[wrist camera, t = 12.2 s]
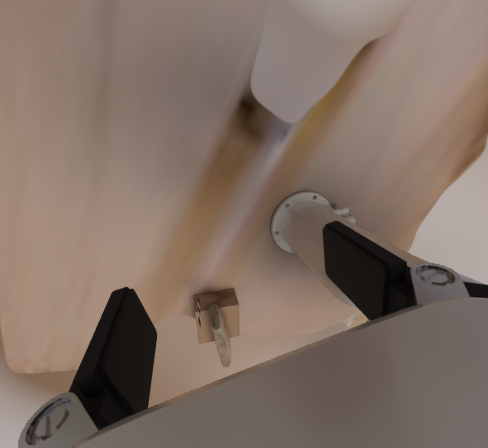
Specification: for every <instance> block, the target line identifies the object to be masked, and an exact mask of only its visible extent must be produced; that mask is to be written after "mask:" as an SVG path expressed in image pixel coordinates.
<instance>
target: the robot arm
mask: <svg viewBox="0 0 488 448" xmlns="http://www.w3.org/2000/svg"><path fill="white" fill-rule="evenodd" d="M348 213H349V209H348V207H346V206H345V207H342V208H339V209H337V210H336V209H334V208H332V207H331V206H330V203H329V202H328V201H327V199H325V198H324V197H323V196H321V195H319V194H317V193H314V192H310V191H304V192H298V193H295V194H293V195H291V196H289V197H288V198H286V199H285V200H284V201H283V202H282V203H281V204H280V205H279V206H278V208H277V209H276V211H275V213H274V215H273V218H272V221H271V234H272V237H273V239H274V241H275V242H276V244H277V245H278V246H279V247H280V248H281V249H283V250H285V251H287V252H290V253H296V254H297V255H298V256H299V257H300V259H301V260H302V261H303V262H304V263H305V264H306V265H307V266H308V267H309V269H310V270H311V271H312V272H313V273H314V274H315V275H316V276H317V277H318V279H319V280H320V281H321V282H322V283H323V284H324V285H325V286H326V288H327V289H328V290H329V291H330V292H331V293H332V294H333V295H334V296H335V297H336V298H337V299H339V300H340V301H342V302H344V303H346V304H348V305H351V306H354V307H357V308H358V309H359V310H360V311H361V312H362V313H363V314H364V315H365V316H366V317H367V318H368V320H367V321H366V323H364V324H361V325H359V326H356V327H353V328H351V329H348V330H346V331H343V332H341V333H338V334H335V335H333V336H330V337H327V338H325V339H322V340H320V341H317V342H314V343H312V344H309V345H307V346H304V347H301V348H299V349H297V350H294V351H291V352H289V353H286V354H283V355H281V356H278V357H276V358H273V359H271V360H268V361H266V362H263V363H260V364H258V365H255V366H253V367H250V368H248V369H245V370H242V371H240V372H237V373H235V374H232V375H230V376H227V377H225V378H222V379H220V380H217V381H215V382H212V383H210V384H207V385H205V386H202V387H200V388H197V389H195V390H192V391H190V392H187V393H184V394H182V395H180V396H177V397H174V398H172V399H170V400H167V401H165V402H162V403H160V404H158V405H155V406H153V407H150V408H148V403H149V396H150V388H151V379H152V372H153V365H154V357H155V349H156V341H157V333H156V329H155V327H154V325H153V323H152V322H151V320H150V318H149V316H148V314H147V312H146V311H145V309H144V307H143V305H142V303H141V301H140V300H139V298H138V296H137V294H136V292H135V291H134V289H129V288H128V287H125V288H121V289H118V290H115V291H113V292H112V293H111V296H110V298H109V300H108V303H107V305H106V307H105V309H104V312H103V314H102V316H101V319H100V321H99V323H98V325H97V328H96V330H95V332H94V334H93V337H92V339H91V341H90V344H89V346H88V348H87V350H86V353H85V355H84V357H83V359H82V362H81V364H80V366H79V369H78V371H77V373H76V375H75V378H74V380H73V383H72V385H71V387H70V390H69V392H66V393H62V394H59V395H58V396H56V397H54V398H52V399H50V400H49V401H48V402H47V403H45V404H44V405H43V406H42V407H41V408H40V409H39V410H37V411H36V412H35V413H34V415H33V416H32V417H31V418H30V420H29V421H28V422H27V424H26V425H25V427H24V429H23V431H22V432H21V435H20V438H19V441H18V444H19V445H18V446H19V447H18V448H488V285H485V284H483V283H481V282H478V281H476V280H474V279H471V278H468V277H466V276H464V275H461V274H458V273H456V272H455V271H454V270H452V269H450V268H448V267H445V266H443V265H439V264H434V263H430V262H427V261H425V260H423V259H420V258H418V257H416V256H413V255H411V254H409V253H407V252H406V251H404V250H402V249H400V248H398V247H396V246H394V245H392V244H390V243H388V242H386V241H384V240H383V239H381V238H379V237H377V236H375V235H374V234H372V233H370V232H368V231H366V230H365V229H363V228H361V227H359V226H357V225H356V224H355V223H356V220H355V218H354V217H353V216H352V215H350V216H347V217H344V218H343V217H341V216H340V215H344V214H348Z"/></svg>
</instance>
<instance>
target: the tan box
mask: <svg viewBox="0 0 488 448" xmlns="http://www.w3.org/2000/svg"><path fill="white" fill-rule="evenodd" d="M198 298H199V301H200V319H201V327H200V326H199V323H198ZM194 300H195V314H196V323H197V331H198V339H199V344H202V343H207V342H212V341H215V338H214V335H213V332H212V329H211V326H210V320H209V307H210V306H211V305H213V304H217V305H218V307H219V309H220V311H221V313H222V315H223V318H224V320H225V322H226V326H227V329H228V333H229V337H235V336H240V335H239V304H238V300H237V297H236V294H235V291H234V288H233V289H227V290H221V291H215V292H209V293H203V294H197V295H194Z"/></svg>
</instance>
